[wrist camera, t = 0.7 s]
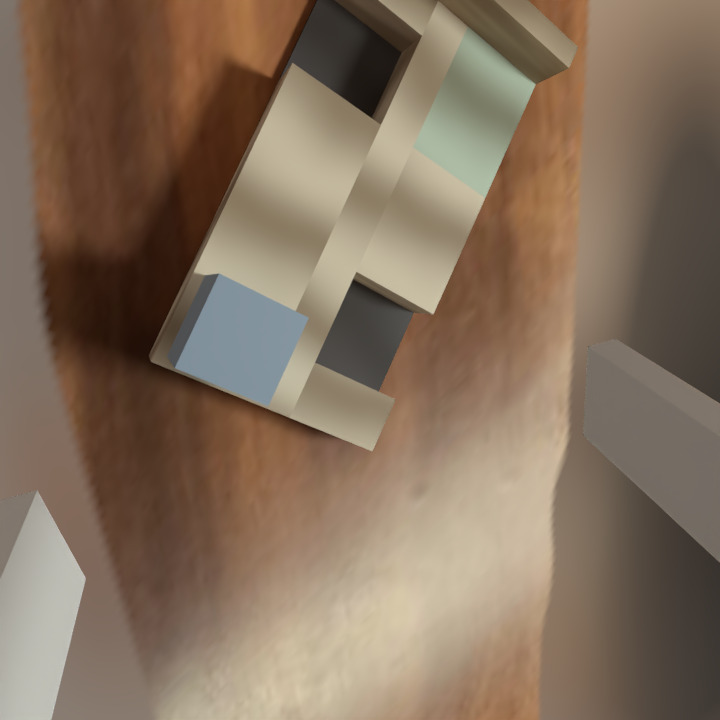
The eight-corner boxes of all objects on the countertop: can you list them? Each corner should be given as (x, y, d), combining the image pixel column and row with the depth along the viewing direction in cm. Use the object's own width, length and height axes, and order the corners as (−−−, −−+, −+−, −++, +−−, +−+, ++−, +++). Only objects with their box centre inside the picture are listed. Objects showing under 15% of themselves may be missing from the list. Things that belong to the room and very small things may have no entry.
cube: (248, 389, 26) (268, 406, 23) (166, 356, 25) (174, 368, 21) (283, 313, 27) (308, 317, 23) (205, 275, 25) (219, 273, 21)
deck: (354, 439, 32) (393, 465, 27) (148, 355, 27) (154, 369, 22) (515, 80, 33) (578, 47, 28) (346, -63, 28) (389, -130, 24)
